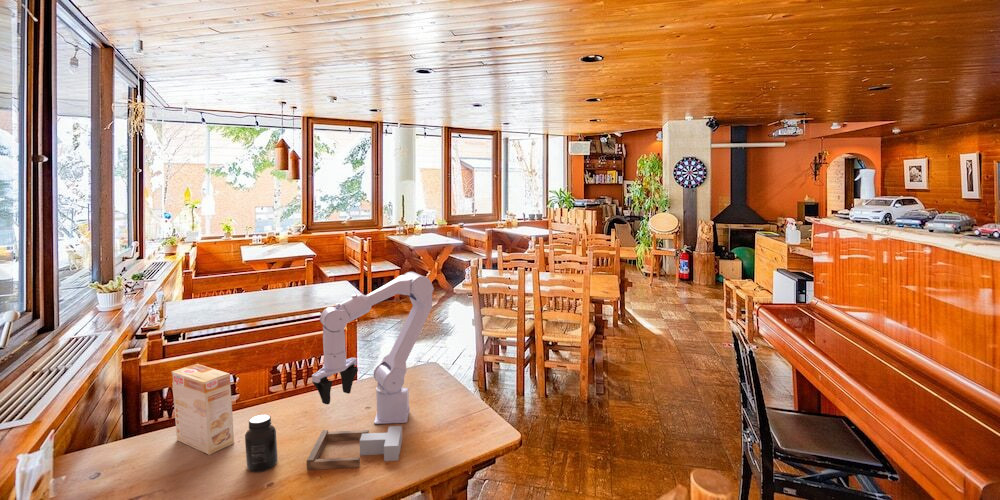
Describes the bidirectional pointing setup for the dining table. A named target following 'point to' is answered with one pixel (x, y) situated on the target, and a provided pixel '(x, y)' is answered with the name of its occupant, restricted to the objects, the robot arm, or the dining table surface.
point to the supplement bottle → (261, 444)
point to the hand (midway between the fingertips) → (336, 397)
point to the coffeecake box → (203, 408)
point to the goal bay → (333, 463)
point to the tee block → (382, 443)
